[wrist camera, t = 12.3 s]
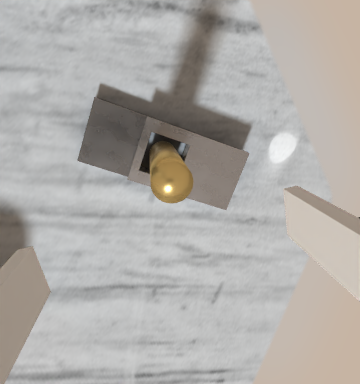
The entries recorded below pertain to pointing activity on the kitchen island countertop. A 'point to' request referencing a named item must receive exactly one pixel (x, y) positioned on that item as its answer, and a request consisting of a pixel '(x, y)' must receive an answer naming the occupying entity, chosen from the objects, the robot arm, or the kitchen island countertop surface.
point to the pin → (169, 173)
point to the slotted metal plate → (137, 142)
